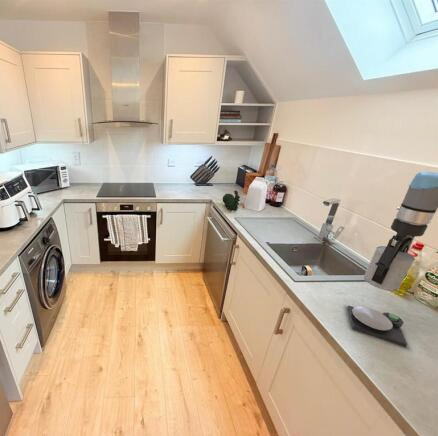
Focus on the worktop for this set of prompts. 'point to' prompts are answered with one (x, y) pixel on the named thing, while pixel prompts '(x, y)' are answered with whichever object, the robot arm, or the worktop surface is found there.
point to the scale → (389, 335)
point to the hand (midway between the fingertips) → (383, 277)
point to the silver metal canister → (390, 270)
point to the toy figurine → (231, 201)
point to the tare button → (393, 317)
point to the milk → (256, 195)
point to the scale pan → (372, 318)
